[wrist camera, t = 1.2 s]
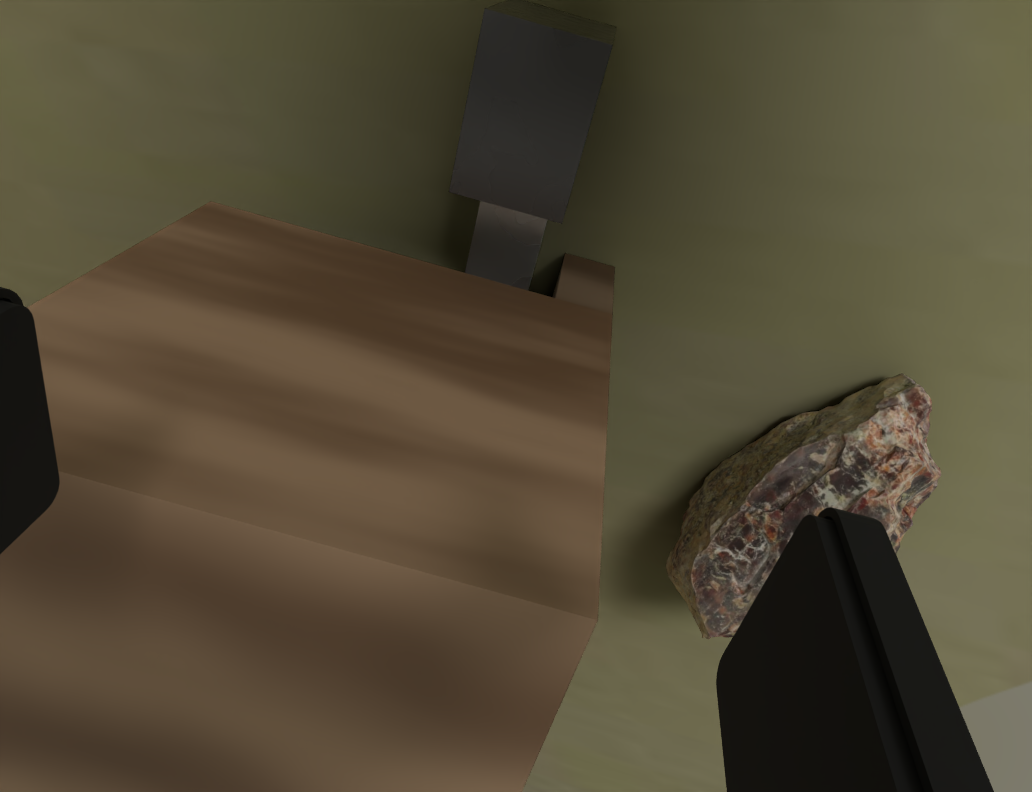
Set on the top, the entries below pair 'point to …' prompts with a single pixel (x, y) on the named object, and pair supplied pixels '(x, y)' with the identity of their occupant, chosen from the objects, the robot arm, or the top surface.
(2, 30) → the top surface
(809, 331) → the top surface
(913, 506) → the rock
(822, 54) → the top surface
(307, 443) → the cabinet
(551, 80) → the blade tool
